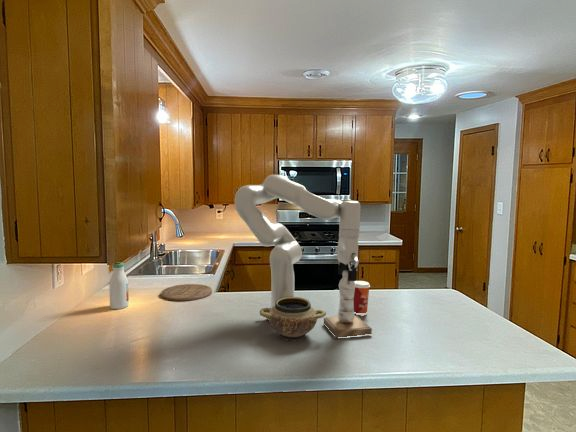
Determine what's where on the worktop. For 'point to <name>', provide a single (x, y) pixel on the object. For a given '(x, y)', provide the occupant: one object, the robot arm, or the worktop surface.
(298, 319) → the ceramic bowl
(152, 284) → the worktop surface
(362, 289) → the paper cup
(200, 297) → the trivet
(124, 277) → the milk bottle
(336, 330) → the plinth
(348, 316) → the plastic bottle
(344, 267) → the robot arm
